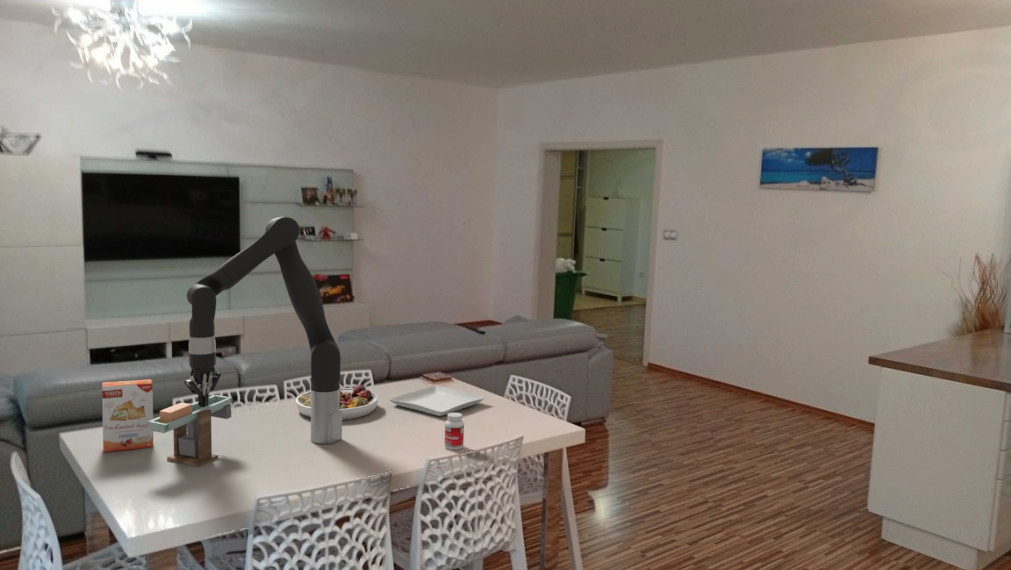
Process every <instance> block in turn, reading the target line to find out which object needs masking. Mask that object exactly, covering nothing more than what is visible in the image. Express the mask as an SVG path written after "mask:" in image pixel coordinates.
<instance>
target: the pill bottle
mask: <svg viewBox="0 0 1011 570" xmlns="http://www.w3.org/2000/svg"><path fill="white" fill-rule="evenodd" d="M462 419H463V414H462V413H461V412H452V413H449V414H447V420H446V421H445V423H444V448H445V449H446V450H450V451H457V450H461V449H463V447H464V438H465V437H464V435H465V423H464V421H463V420H462Z"/></svg>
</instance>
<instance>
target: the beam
mask: <svg viewBox="0 0 1011 570" xmlns="http://www.w3.org/2000/svg"><path fill="white" fill-rule="evenodd" d="M233 401H234V400H233V397H230V396H225V395H219V394H218V395H217V394H213V395H211V396H209V403H208V406H206V407H200V406H199V405H198V401H196V402H193V403H191V404H192V413H190V414H188V415H185V416H183V417H181V418H178V419H176V420H173V421H171V422H168V423H166V424H165V423H161V422H160V416H158V417H155V418H153V420H150V421H148V427H151V431H153V432H156V433H159V434H160V433H162V434H166V433H168V432H171V431H174V430H173V429H175V428H178V427H180V426H182V425H185V424H187V435H185V436H182V437H180V438H178V440H179V454H182V455H186V456H191V457H196V456H199V455H198V413H199V412H202V411H205V410H211V418H212V417H214V418H219V419H225V420H228V419H230V418H232V405H231V404H232V403H233Z"/></svg>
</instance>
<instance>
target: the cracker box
mask: <svg viewBox="0 0 1011 570" xmlns="http://www.w3.org/2000/svg"><path fill="white" fill-rule="evenodd" d="M101 384H102V385H101V393H102V394H101V395H102V397H101V398H102V399H101V400H102V404H101V405H102V406H101V407H102V449H103V451H102V452H103V453H107V452H116V451H129V450H136V449H146V448H154V431H151V427H148V421H150V420H153V419H154V404H153V403H154V402H153V401H154V398H153V396H154V395H153V393H154V392H153V388H154V387H153V380H152V379H150V378H149V379H138V380H137V379H136V380H135V379H134V380H133V379H132V380H121V381H119V380H118V381H106V382H102V383H101Z"/></svg>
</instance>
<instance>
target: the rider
mask: <svg viewBox="0 0 1011 570" xmlns="http://www.w3.org/2000/svg"><path fill="white" fill-rule="evenodd" d="M192 404H193V403H186V402H179V403H177V404H174V405H171V406H169V407H166V408H163V409H162V410H159V417H160V422H161V423H165V424H166V423H168V422H171V421H173V420H176V419H178V418H181V417H183V416H185V415H188V414H190V413H192Z"/></svg>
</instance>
